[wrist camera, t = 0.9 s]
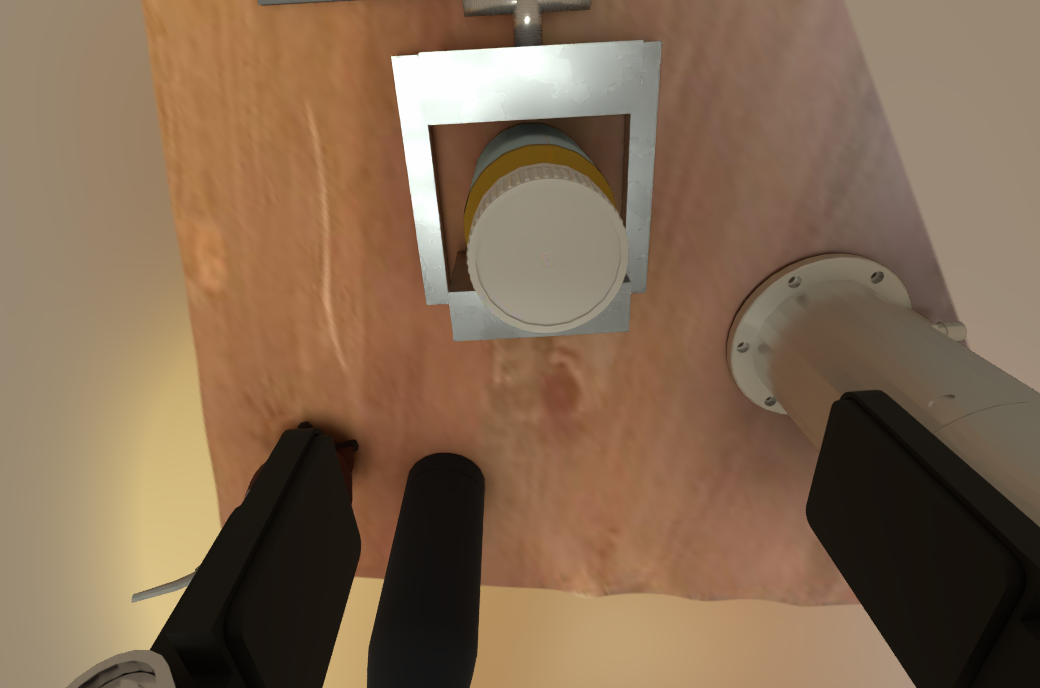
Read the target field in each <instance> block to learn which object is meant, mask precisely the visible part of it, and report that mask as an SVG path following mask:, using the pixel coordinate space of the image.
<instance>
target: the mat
mask: <svg viewBox="0 0 1040 688" xmlns="http://www.w3.org/2000/svg"><path fill="white" fill-rule="evenodd" d="M334 1H351V0H258V4H259V5H262V6H263V5H280V4H298V3H316V2H334Z"/></svg>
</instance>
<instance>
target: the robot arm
mask: <svg viewBox="0 0 1040 688" xmlns="http://www.w3.org/2000/svg"><path fill="white" fill-rule="evenodd" d="M789 279H790V280H789ZM966 333H967V330H966V327H965V325H964V324H963V323H962V322H958V321H955V322H939V323H937V324H934V323H933V322H931V321H929V320H928V319H926V318H924V317H923V316H921V315H920V314H918V313H916V312H915V311H913V310H912V304H911V301H910V297H909V294H908V291H907V289H906V288H905V286H904V285H903V283H902V282H901V280H900V279H899V278H898V277H897V276H896V275H895V274H894V273H893V272H891V271H890V270H889V269H888V268H886V267H884V266H882V265H881V264H879V263H877V262H875V261H873V260H870V259H868V258H865V257H862V256H859V255H852V254H845V253H838V254H824V255H819V256H815V257H811V258H807V259H804V260H802V261H799V262H797V263H794V264H792V265H789V266H787V267H786V268H784V269H782V270H781V271H779V272H777V273H776V274H774V275H772V276H771V277H770V278H769V279H767V280H766V281H765V282H764V283H763V284H761V285H760V286H759V287H758V288H757V289H756V290H755V291H754V292H753V293H752V294H751V296H750V297H749V298H748V299H747V300H746V301H745V303H744V304H743V306H742V307H741V309H740V310H739V312H738V314H737V315H736V317H735V320H734V322H733V324H732V327H731V329H730V332H729V337H728V342H727V362H728V366H729V370H730V373H731V375H732V377H733V379H734V381H735V383H736V384H737V386H738V387H739V388H740V390H741V391H742V392H743V393H744V395H745V396H746V397H747V398H749V399H750V400H751V401H752V402H753V403H754V404H756V405H758V406H760V407H761V408H763V409H765V410H768V411H772V412H775V413H778V414H785V415H789V416H790V417H791V419H792V420H793V421H794V422H795V424H796V425H797V426H798V427H799V429H800V430H801V431H802V432H803V434H804V435H805V436H806V437H807V439H808V440H809V441H810V442H811V444H812V445H813V446H814V447H815V449H816V450H817V451H818V452H819V457H818V461H817V465H816V469H815V473H814V477H813V481H812V485H811V489H810V493H809V497H808V501H807V505H806V516H807V520H808V523H809V525H810V527H811V529H812V530H813V532H814V533H815V535H816V536H817V538H818V539H819V541H820V542H821V544H822V545H823V547H824V548H825V550H826V551H827V553H828V554H829V556H830V557H831V559H832V560H833V562H834V563H835V565H836V566H837V568H838V569H839V571H840V573H841V574H842V576H843V577H844V579H845V580H846V582H847V583H848V585H849V586H850V588H851V589H852V591H853V592H854V594H855V595H856V597H857V598H858V600H859V601H860V603H861V604H862V606H863V607H864V609H865V610H866V612H867V613H868V615H869V616H870V618H871V620H872V621H873V623H874V624H875V625H876V627H877V629H878V630H879V632H880V633H881V635H882V636H883V638H884V639H885V641H886V642H887V644H888V645H889V647H890V648H891V650H892V651H893V653H894V654H895V656H896V657H897V659H898V660H899V662H900V663H901V665H902V667H903V668H904V670H905V671H906V673H907V674H908V676H909V677H910V679H911V680H912V682H913V683H914V685H915V686H916V688H1040V393H1038V392H1037V391H1035V390H1034V389H1032V388H1030V387H1029V386H1027V385H1025V384H1024V383H1022V382H1021V381H1019V380H1017V379H1016V378H1014V377H1013V376H1011V375H1009V374H1008V373H1006V372H1005V371H1003V370H1001V369H1000V368H998V367H996V366H995V365H993V364H992V363H990V362H988V361H987V360H985V359H984V358H982V357H980V356H979V355H977V354H975V353H974V352H972V351H971V350H969V349H968V348H966V347H964V346H963V345H961V344H959V343H958V342H960V341H963V340H964V338H965V337H966ZM360 553H361V539H360V534H359V530H358V527H357V523H356V520H355V516H354V513H353V509H352V506H351V502H350V498H349V495H348V491H347V488H346V484H345V481H344V477H343V474H342V470H341V466H340V463H339V459H338V456H337V452H336V449H335V445H334V442H333V439H332V437H331V436H330V435H323V433H322V431H321V430H320V429H319V428H305V429H290V430H286V431H285V432H284V433H283V434H282V436H281V438H280V439H279V441H278V443H277V445H276V446H275V448H274V450H273V451H272V453H271V455H270V456H269V458H268V460H267V462H266V463H265V465H264V467H263V468H262V470H261V472H260V474H259V475H258V477H257V479H256V480H255V482H254V484H253V485H252V487H251V489H250V491H249V492H248V494H247V496H246V497H245V499H244V501H243V502H242V504H241V505H240V506H239V507H237V508H236V509H235V510H234V511H233V512H232V514H231V515H230V516H229V518H228V520H227V521H226V523H225V525H224V526H223V528H222V530H221V531H220V533H219V535H218V537H217V538H216V540H215V542H214V543H213V545H212V547H211V548H210V550H209V552H208V553H207V555H206V557H205V558H204V560H203V562H202V563H201V565H200V567H199V568H198V570H197V572H196V573H195V575H194V577H193V578H192V580H191V582H190V583H189V585H188V587H187V589H186V590H185V592H184V594H183V595H182V597H181V598H180V600H179V602H178V604H177V605H176V607H175V608H174V610H173V612H172V614H171V615H170V617H169V619H168V620H167V622H166V624H165V625H164V627H163V629H162V630H161V632H160V634H159V635H158V637H157V639H156V640H155V642H154V644H153V645H152V647H151V649H150V650H133V651H129V652H126V653H121V654H118V655H115V656H113V657H111V658H109V659H107V660H104V661H102V662H100V663H98V664H96V665H95V666H93V667H92V668H91V669H89V670H87V671H86V672H85V673H83V674H82V675H80V676H79V677H77V678H76V679H75V680H74V681H73V682H72V683H71V684H70V685H69V686H68V687H66V688H322V687H323V684H324V680H325V677H326V673H327V670H328V666H329V663H330V659H331V656H332V652H333V649H334V645H335V642H336V638H337V634H338V631H339V628H340V624H341V621H342V617H343V614H344V610H345V607H346V603H347V600H348V596H349V593H350V589H351V586H352V582H353V579H354V575H355V572H356V568H357V565H358V561H359V558H360Z"/></svg>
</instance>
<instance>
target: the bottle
mask: <svg viewBox="0 0 1040 688" xmlns="http://www.w3.org/2000/svg"><path fill="white" fill-rule="evenodd" d="M625 232H626V228H625V227H624V225H623V221H622V219H621V218H620V216H619V213H618V211H617V208H616V204H615V200H614V196H613V193H612V190H611V188H610V186H609V184H608V183H607V181H606V180H605V178H604V177H603V175H602V174H601V172H600V171H599V169H598V168H597V167H596V166H595V165H594V163H593V162H592V161H591V160H590V159H589V158H588V157H587V155H586V154H585V153H584V152H583V151H582V150H581V149H580V147H579V146H578V145H577V144H576V143H575V142H574V141H573V140H572V139H571V138H570V137H568V136H567V135H566V134H565V133H563V132H562V131H560V130H559V129H557V128H554V127H551V126H548V125H545V124H542V123H522V124H518V125H515V126H513V127H510V128H507V129H505V130H503V131H502V132H500V133H499V134H498V135H497V136H496V137H494V138H493V139H492V140H491V141H490V142H489V143H488V144H487V146H486V147H485V149H484V150H483V152H482V154H481V155H480V157H479V159H478V161H477V165H476V168H475V172H474V176H473V180H472V183H471V187H470V191H469V195H468V199H467V202H466V206H465V210H464V233H465V241H466V245H467V247H468V248H467V265H468V273H469V274H470V280H471V282H472V284H473V288H474V289H475V291H476V293H477V295H478V296H479V298H480V299H481V301H482V302H483V303H484V305H485V306H486V307H487V308H488V309H489V310H490V311H491V312H492V313H493V314H494V315H495V316H497V317H498V318H499V319H501V320H502V321H504V322H506V323H508V324H510V325H512V326H514V327H516V328H519V329H522V330H526V331H531V332H538V333H553V332H560V331H565V330H569V329H572V328H575V327H578V326H580V325H582V324H584V323H586V322H588V321H589V320H591V319H593V318H594V317H595V316H597V315H598V314H599V313H600V312H602V311H603V310H604V309H605V308H606V307H607V306H608V305H609V303H610V302H611V301H612V300H613V298H614V297H615V296H616V294H617V292H618V291H619V289H620V287H621V285H622V282H623V280H624V277H625V274H626V270H627V266H628V257H629V253H628V249H629V245H628V236H627V235H626V233H625Z"/></svg>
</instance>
